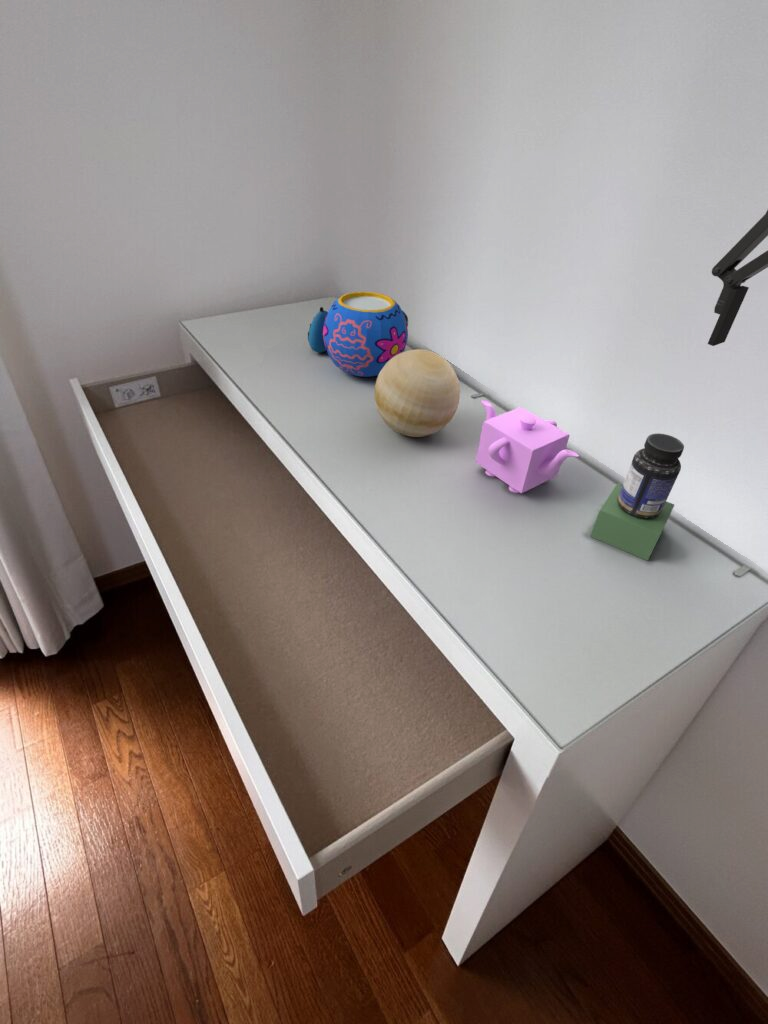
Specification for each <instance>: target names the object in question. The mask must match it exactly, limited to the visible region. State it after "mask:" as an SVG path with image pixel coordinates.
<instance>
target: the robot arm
mask: <svg viewBox="0 0 768 1024" xmlns="http://www.w3.org/2000/svg"><path fill="white" fill-rule="evenodd" d="M767 237H768V209H767V210H766V211H765V214H764V215H763V216H762V217H761V218H760V219H759V220H758V221H756V223H755V224H754V225H753V226H751V228H750V229H749V230H748V231H747V232H746V233H745V234H744V235H743V236H742V237H741V238H740V240H738V241H737V242H736V243H735V244H734V246H732V247H731V249H730V250H729V251H728V252H727V253H725V254H724V255H723V257H722V258H721V259H720V260H719V261H718V262H717V263H716V264H715V265H714V266H713V267H712V268H711V275H712V276H713V277H717V278H718V279H719V280H721V282H722V283H723V286H722V289H721V292H720V294H719V296H718V298H717V300H716V304H715V306H714V309H713V311H714V312H713V313H714V314H717V315H719V316H718V318H717V320H716V323H715V325H714V327H713V330H712V332H711V335H710V337H709V339H708V342H707V345H709V346H712V347H714V346H718V345H720V344H723V343H726V340H727V338H728V336H729V334H730V331H731V328H732V326H733V325H734V322H735V320H736V318H737V315H738V314H739V311H740V309H741V306H742V304H743V302H744V299H745V297H746V295H747V293H748V290H749V289H750V287H749V286H746V285H742V284H744V283H746V281H748V280H749V279H751V278H753V277H754V276H757V275H758V274H760V273H761V272H762V271H764V270H766V269H767V268H768V249H767V250H765V252H763V253H761V254H759V255H757V256H756V257H755V258H753V259H751V261H749V262H746V264H744V265H742V266H741V267H740V268H738V269H736V268H737V267H738V266H739V265H740V264H741V263H742V262H743V261H744V260H745V259H746V258H747V257H748V256H749V255H750V254H751V253H752V252H753V251H754V250H755V249H756V248H757V247H758V246H759V245H760V244H761V243H762V242H763V241H764V240H765V239H766V238H767Z"/></svg>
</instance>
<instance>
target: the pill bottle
mask: <svg viewBox="0 0 768 1024" xmlns="http://www.w3.org/2000/svg"><path fill="white" fill-rule="evenodd" d="M643 447H644V448H641V449H638V450H637V451H636V452H635V453H634V455H633V457H632V460H631V463H630V466H629V468H628V470H627V473H626V475H625V478H624V481H623V483H622V485H623V486H622V488H621V491H620V493H619V496H618V498H617V502H618V505H619V507H620V508H621V509H622V510H623V511H624V512H626V513H627V514H629V515H632V516H634V517H638V518H643V519H652V518H655V517H657V516H658V515H659V514H660V513H661V511H662V509H663V507H664V505H665V503H666V501H667V500H668V499H669V496H670V494H671V491H672V490H673V487H674V485H675V483H676V480H677V479H678V477H679V474H680V472H681V470H682V469H681V468H682V463H681V461H680V458H681V456H682V455H683V452H684V449H685V445H684V443H683V442H682V441H681V440H680V439H678V438H677V437H674V436H673V435H669V434H665V433H658V432H657V433H651V434H649V435H648V436H647V437H646V439H645V442H644V445H643Z"/></svg>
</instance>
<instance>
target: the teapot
mask: <svg viewBox="0 0 768 1024" xmlns="http://www.w3.org/2000/svg"><path fill="white" fill-rule="evenodd" d="M480 402H481V404H482V405H483V407H484V409H485V414H486V418H485V419H486V420H485V419H484V421H483V422H482V427H481V431H480V437H479V442H478V447H477V452H476V458H475V463H476V464H478V465H479V466H480V467H482V468H483V469H485V475H487V476H489V477H494V478H495V477H496V478H498V479H499V480H501V481H502V482H504V483H505V484H507V485H508V490H509V491H510V492H511V493H515V494H519V493H520V494H523V493H525V492H528V491H530V490H531V489H533V488H536V487H537V486H540V485H541V484H543V483H546V482H548V481H550V480H552V479H554V478H556V477H558V474H559V472H560V468H561V466H562V465H563V463H564V462H565V461H566V459H567V458H570V457H571V458H572V457H574V458H575V457H576V458H577V457H579V456H580V455H579V454H578V453H577V452H576V451H573V450H571V449H566V448H567V445H568V443H569V439H570V434H569V433H568V432H566V431H564V430H563V429H561V428H559V427H558V423H557V422H556V421H555V420H554V419H553V420H552V419H546V420H545V419H544V418H541V417H540V416H538V415H536V414H535V413H532V412H531V411H529V410H527V409H525V408H523V407H521V406H519V407H517V408H514V409H511V410H509V411H507V412H504V413H500V414H498V415H497V414H496V411H495V410H496V409H495V408H494V405H492V403H490V402H489V401H487V400H486V399H480Z"/></svg>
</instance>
